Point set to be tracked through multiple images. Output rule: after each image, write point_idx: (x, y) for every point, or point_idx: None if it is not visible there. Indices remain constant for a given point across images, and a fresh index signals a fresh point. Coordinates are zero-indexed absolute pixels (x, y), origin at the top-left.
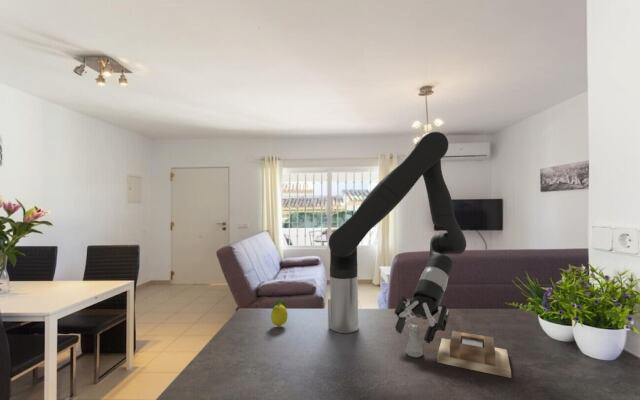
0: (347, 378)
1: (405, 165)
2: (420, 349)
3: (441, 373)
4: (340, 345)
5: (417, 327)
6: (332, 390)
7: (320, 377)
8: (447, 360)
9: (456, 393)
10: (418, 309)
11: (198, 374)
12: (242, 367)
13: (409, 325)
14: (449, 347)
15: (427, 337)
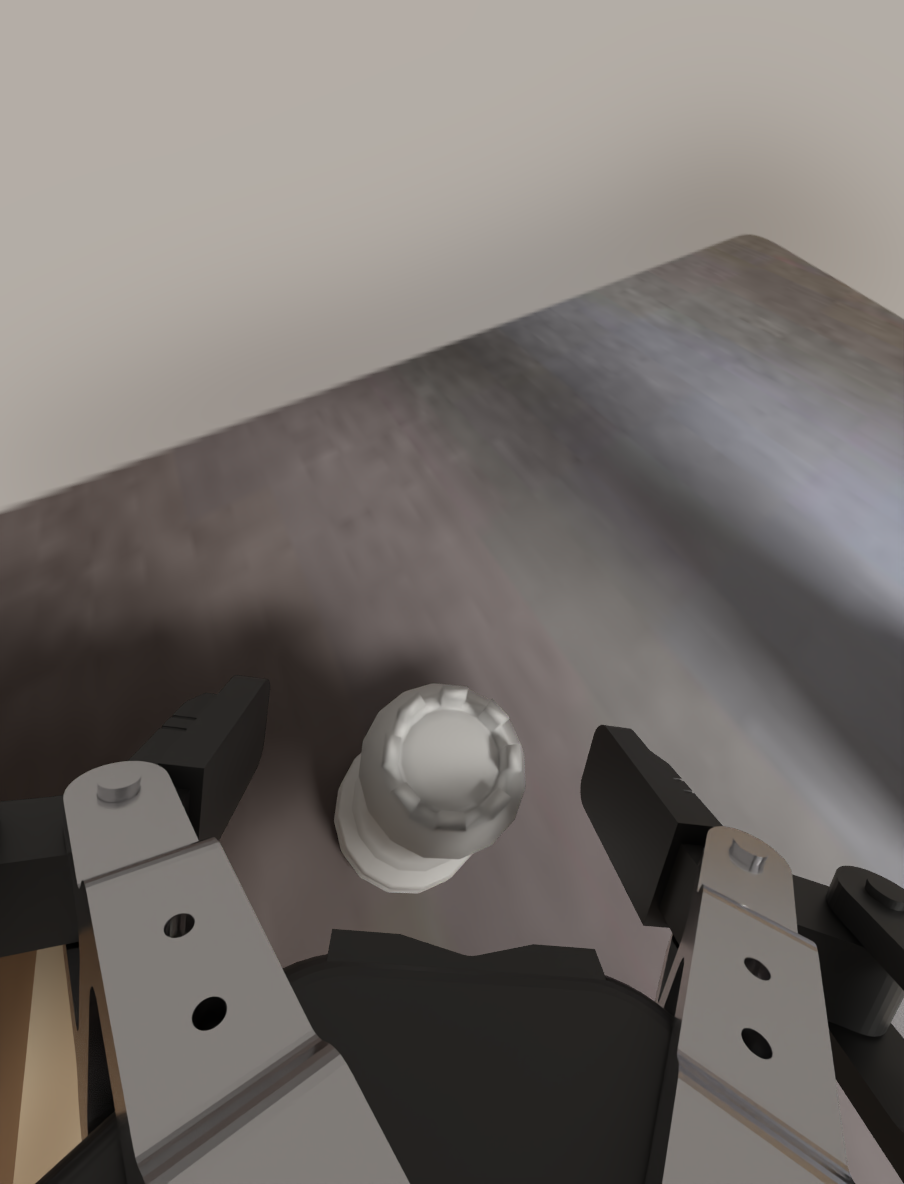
0: (534, 398)
1: None
2: (346, 790)
3: (142, 652)
4: (800, 603)
5: (382, 737)
6: (519, 335)
7: (606, 369)
8: None
9: (37, 505)
10: (538, 1084)
11: (811, 279)
12: (797, 327)
13: (487, 706)
14: (47, 1165)
15: (227, 686)
